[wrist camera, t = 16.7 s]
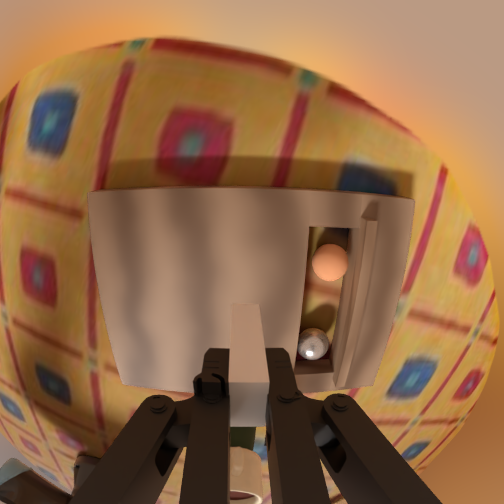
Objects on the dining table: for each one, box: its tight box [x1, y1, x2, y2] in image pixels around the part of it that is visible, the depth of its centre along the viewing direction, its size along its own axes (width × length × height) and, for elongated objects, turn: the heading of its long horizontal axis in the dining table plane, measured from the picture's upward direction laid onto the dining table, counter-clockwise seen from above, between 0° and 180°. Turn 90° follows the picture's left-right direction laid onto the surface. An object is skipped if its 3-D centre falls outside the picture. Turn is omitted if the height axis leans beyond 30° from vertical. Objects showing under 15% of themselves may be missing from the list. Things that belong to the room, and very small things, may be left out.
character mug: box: [230, 427, 263, 504], centre depth 28 cm, size 11×7×13 cm, turn 168°
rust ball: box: [312, 244, 349, 281], centre depth 26 cm, size 3×3×3 cm
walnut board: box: [87, 186, 415, 393], centre depth 26 cm, size 30×22×4 cm
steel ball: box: [297, 328, 329, 360], centre depth 28 cm, size 3×3×3 cm
